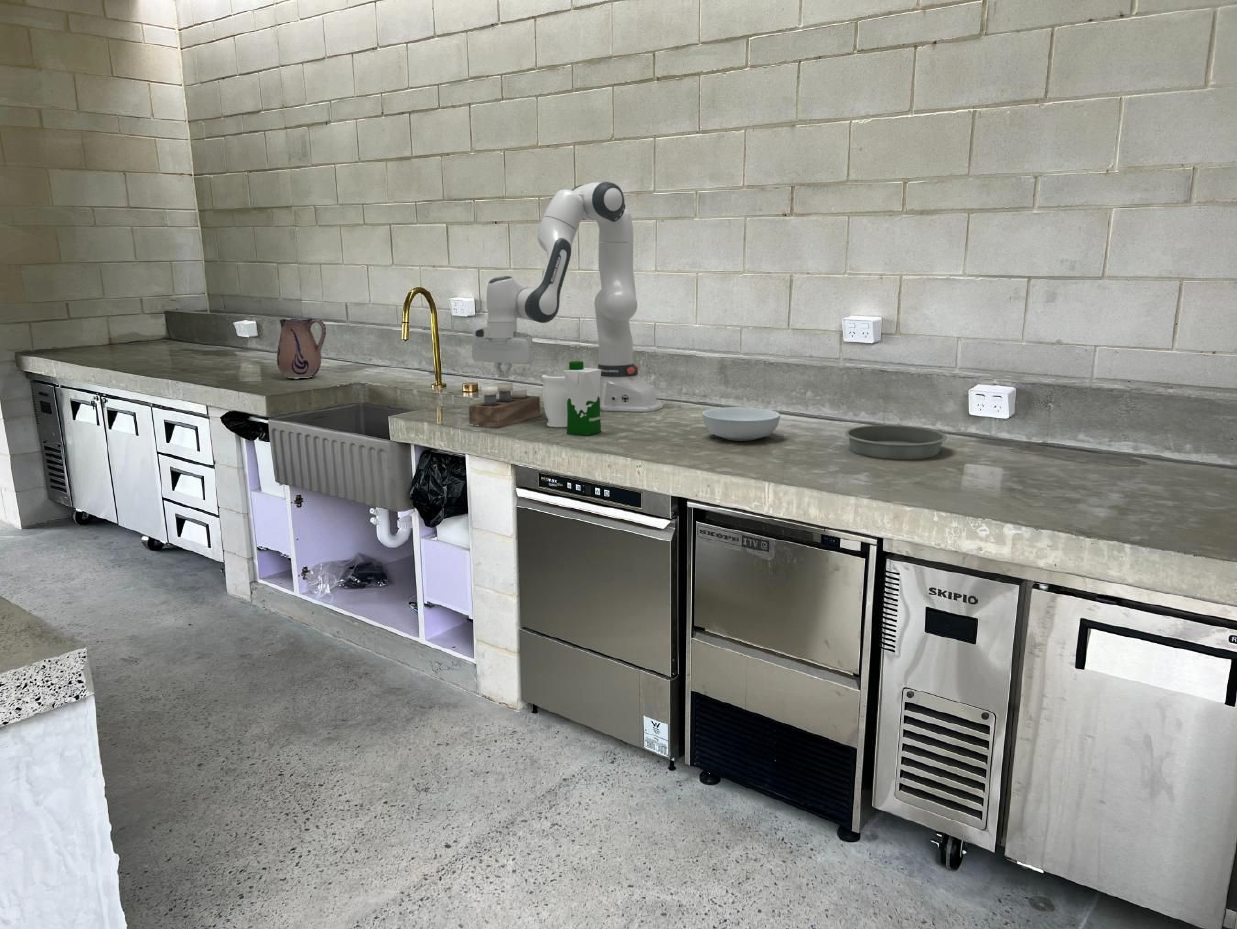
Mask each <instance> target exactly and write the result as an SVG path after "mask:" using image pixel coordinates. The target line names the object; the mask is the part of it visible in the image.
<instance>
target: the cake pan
mask: <svg viewBox="0 0 1237 929" xmlns="http://www.w3.org/2000/svg"><path fill="white" fill-rule="evenodd" d="M844 435H845V436H846V437H847V438H848V439H849V446H850V449H851V451H852V452H854V453H856V454H859V455H862V456H866V457H871V458H872V457H873V458H878V459H891V460H893V459H894V460H915V459H918V460H919V459H925V458H927V459H928V458H931V457H932V458H933V457H934V456H938V454H939V453H940V450H941V447H942V445H943V442H945V441H946V440H947V439H948V436H947V435H946V434H945V433H944V432H941V431H938V430H934V429H932V428H931V429H930V428H926V427H920V426H911V425H910V426H909V425H901V424H900V425H899V424H898V425H895V424H893V425H892V424H876V425H862V426H856V427H852V428H849V429H847V430H846V431H845V432H844Z"/></svg>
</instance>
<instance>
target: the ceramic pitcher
mask: <svg viewBox="0 0 1237 929" xmlns="http://www.w3.org/2000/svg"><path fill="white" fill-rule="evenodd" d="M279 323H280V327H281V328H280V337H279V342H278V347H277V353H276V363H277V364H276V365H277V367H278V370H279V371H280V373H281V374H282V375H283V377H285V378H287V377H310V376H314V377H315V376H316V375H317V374H318V373H319V371H320V369H321V365H322V354H321V352H322V348H323V345H324V342H325V339H326V335H327V328H326V325H325V322H323V321H322V320H321V319H317V318H310V317H309V318H302V317H301V318H299V317H298V318H290V319H287V318H281V319H279ZM314 324H319V326H320V328H321V336H320V338H319V341H318V343H317V342H316V339H315V337H314V334H313V332H312V330H311V329H312V326H313V325H314Z"/></svg>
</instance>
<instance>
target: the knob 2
mask: <svg viewBox="0 0 1237 929" xmlns="http://www.w3.org/2000/svg"><path fill="white" fill-rule="evenodd" d="M527 390H528V389H520V388H518V389H513V390H512V391H511V395H512V397H513V398H514V399H524V398H525V397H527V396H528V391H527Z"/></svg>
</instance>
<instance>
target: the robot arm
mask: <svg viewBox="0 0 1237 929" xmlns="http://www.w3.org/2000/svg"><path fill="white" fill-rule="evenodd" d="M625 203H626V202H625V196H624V193H623V191H622V189H621V187H620V186H619V185H617V184H616V183H613V182H611V181H602V182H601V181H596V182H595V181H594V182H589V183H586V184H580V185H576V186H575V187H574V188H572V189H565V188H564V189H560V190H558V191H557V192H556V193H555V194H554V196H553V197H552V199H551V200H550V202H549V204H548V206H547V207H546V210H545V211H544V214H543V216H542V219H541V221H540V223H539V227H538V229H537V235H536V236H537V237H536V238H537V241H538V244H539V246H540V247H541V249H543V251H545V252H546V255H547V260H546V261H547V262H546V265H545V268H544V271H543V274H542V277H541V281H540V283H539V284H538V286H536V287H529V286H527V285H524V284H522V283H521V282H519V281H517V280H516V279H514V277H513V276H509V275H505V276H499V277H493V278H492V279H490V280H489V282H488V284H487V286H486V309H487V319H486V325H485V326H482V327H480V328H477V329H474V330H473V331H472V335H473V339H472V346H471V357H472V360H473V361H474V362H479V363H481V362H484V363H493V365H494V368H495V371H496V372H497V377H498V378H502V379H508V378H509V377H510V372H511V369H512V367H513V364H517V365H518V364H519V365H530V364H532V363H533V362H534V361H535V355H534V348H533V347H534V346H533V337H532V336H531V334H529V333H528V332H520V331H519V332H518V323H517V321H518V318H519V319H521V320H527V321H533V322H537V323H539V324H540V323H541V324H546V323H549V322H551V321H552V320H554V319H555V318H556V316H557V315H558V313H559V309H560V302H561V301H560V297H561V291H562V287H563V283H564V282H565V277H566V273H567V271H568V269H569V268H568V266H569V264H570V260H571V255H572V245H573V242H574V238H575V236H576V233H577V231H578V228H579V226H580V223H581V222H582V221H583V220H589V221H590V220H591V221H593V220H594V221H596V223H597V225H598V230H599V234H598V272H599V278H600V285H601V286H600V287H601V289H600V290H598V292H597V293H596V295H595V297H594V305H593V306H594V310H595V311H594V314H595V322H596V330H597V336H598V364H597V369H601V377H600V411H604V412H605V411H608V412H612V411H613V412H637V413H641V412H642V413H644V412H652V411H653V412H655V411H657V410H660V409H662V408H663V407H664V404H663V403H662V402H657V395H656V391H655V389H654V387H653V386H652V385H650V384H649V383H648V382H647V381H646V380H644V379H643V378H642V377H641V376H639V373H638V372H639V370H641V366H639V365H638V366H637V365H635V364H634V360H633V357H634V356H633V354H634V352H633V351H634V350H633V349H634V348H633V343H634V340H633V337H632V333H631V326H630V325H631V324H630V319H631V318H633V317H634V315H635V314H636V312H637V310H638V301H637V297H636V296H637V293H636V285H635V284H636V283H635V282H636V281H635V277H634V276H635V274H634V229H633V220H632V214H631V213H630V211H629V210H628V209H627V208H626V204H625ZM503 364H504V367H505V369H504V370H503V369H502V365H503Z"/></svg>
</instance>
